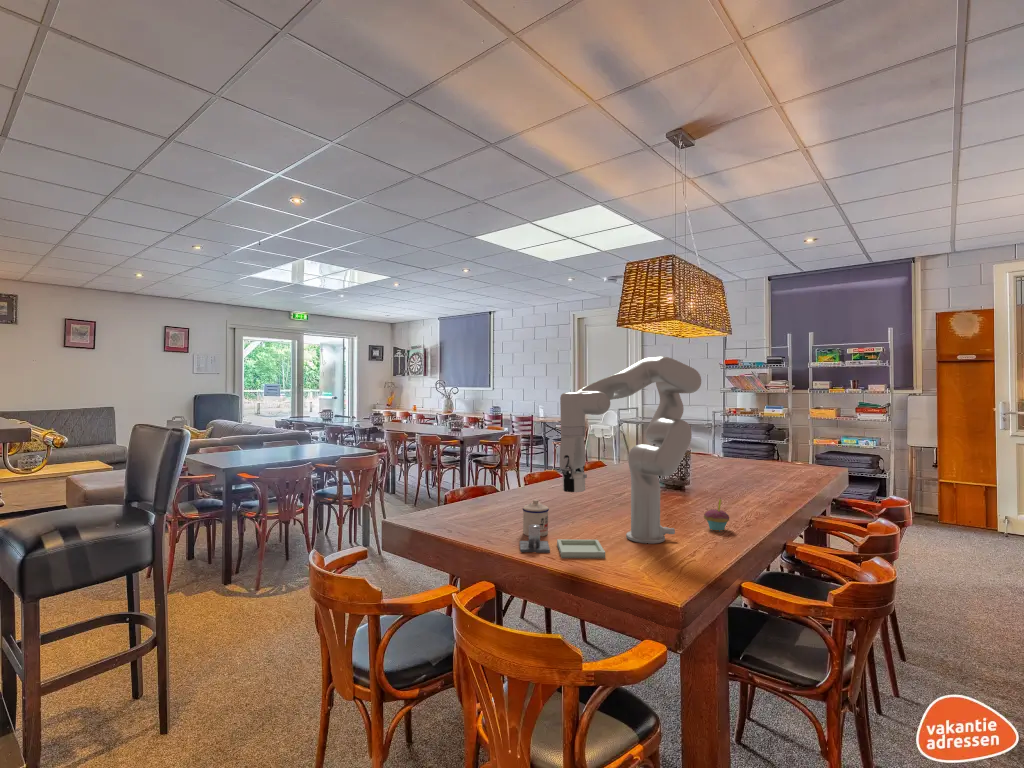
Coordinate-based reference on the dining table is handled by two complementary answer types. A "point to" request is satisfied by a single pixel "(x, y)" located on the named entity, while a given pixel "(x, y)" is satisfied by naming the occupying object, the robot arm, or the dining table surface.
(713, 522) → the cupcake
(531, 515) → the teacup with lid
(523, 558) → the dining table surface
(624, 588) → the dining table surface
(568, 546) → the tray
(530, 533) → the post stand
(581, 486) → the white earbud case
